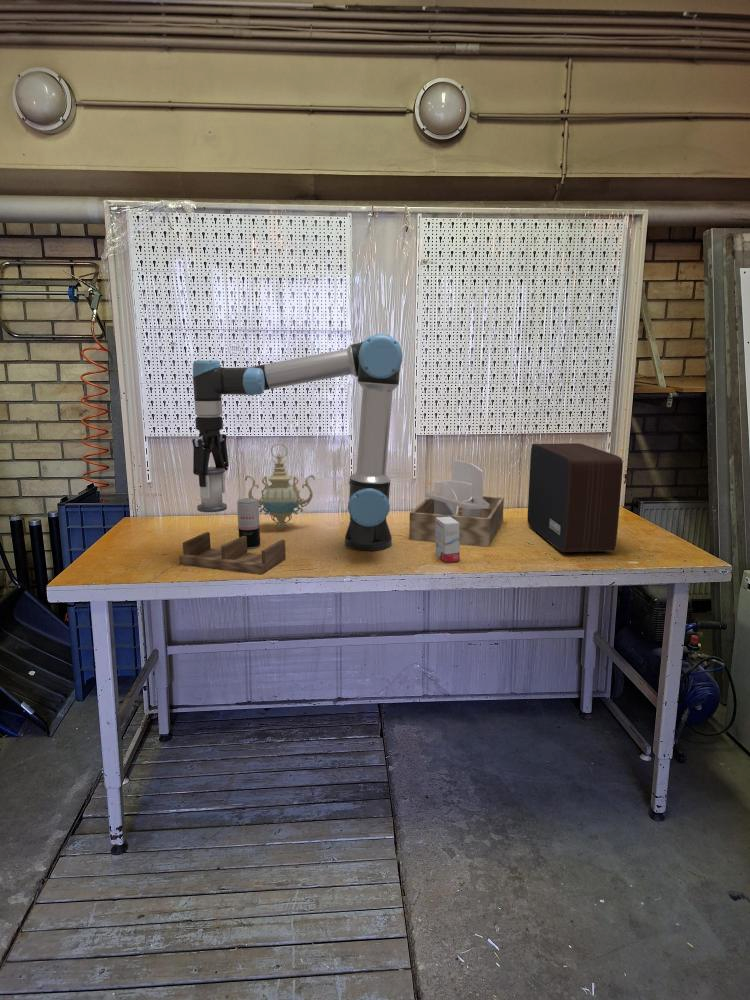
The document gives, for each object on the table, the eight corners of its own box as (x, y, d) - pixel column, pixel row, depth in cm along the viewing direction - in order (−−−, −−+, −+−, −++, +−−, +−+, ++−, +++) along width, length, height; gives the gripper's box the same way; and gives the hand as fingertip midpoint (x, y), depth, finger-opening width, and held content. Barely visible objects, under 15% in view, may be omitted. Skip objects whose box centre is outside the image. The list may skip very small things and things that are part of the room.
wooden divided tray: (285, 559, 184) (285, 539, 183) (262, 574, 172) (261, 553, 170) (207, 550, 193) (206, 532, 192) (179, 564, 180) (178, 544, 179)
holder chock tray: (502, 521, 227) (503, 497, 225) (488, 546, 196) (489, 519, 195) (433, 516, 235) (433, 492, 233) (409, 539, 205) (409, 512, 203)
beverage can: (243, 542, 201) (240, 497, 198) (262, 543, 201) (260, 498, 197) (236, 548, 195) (234, 502, 192) (256, 549, 194) (254, 502, 191)
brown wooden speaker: (621, 556, 187) (629, 457, 180) (563, 557, 186) (570, 458, 179) (575, 525, 222) (581, 441, 216) (526, 526, 221) (530, 442, 215)
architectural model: (411, 527, 221) (412, 462, 216) (457, 519, 233) (458, 457, 228) (463, 546, 199) (465, 474, 193) (511, 536, 210) (514, 467, 205)
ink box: (460, 562, 182) (461, 522, 179) (443, 563, 181) (444, 524, 178) (449, 553, 190) (450, 515, 187) (434, 554, 189) (434, 516, 186)
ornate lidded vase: (244, 533, 212) (240, 446, 206) (250, 524, 223) (246, 441, 217) (314, 533, 213) (312, 445, 206) (317, 524, 224) (315, 441, 217)
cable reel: (232, 507, 185) (230, 467, 182) (216, 513, 177) (214, 472, 175) (208, 504, 188) (206, 466, 185) (191, 510, 180) (189, 470, 177)
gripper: (217, 412, 187) (221, 487, 192) (175, 418, 168) (181, 501, 173) (239, 413, 184) (242, 489, 189) (199, 419, 166) (204, 503, 171)
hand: (213, 494), depth 181 cm, fingers closed on cable reel, 7 cm apart
